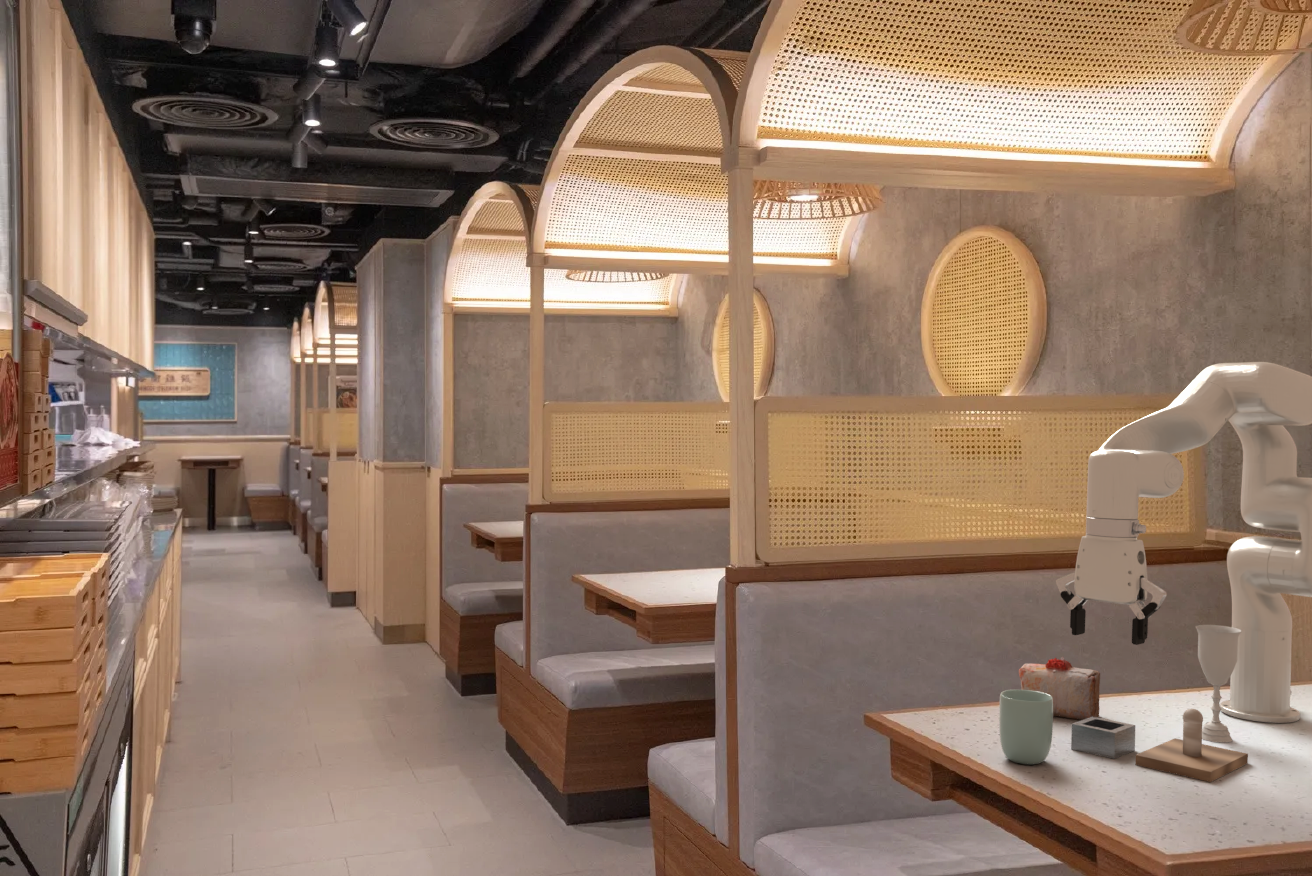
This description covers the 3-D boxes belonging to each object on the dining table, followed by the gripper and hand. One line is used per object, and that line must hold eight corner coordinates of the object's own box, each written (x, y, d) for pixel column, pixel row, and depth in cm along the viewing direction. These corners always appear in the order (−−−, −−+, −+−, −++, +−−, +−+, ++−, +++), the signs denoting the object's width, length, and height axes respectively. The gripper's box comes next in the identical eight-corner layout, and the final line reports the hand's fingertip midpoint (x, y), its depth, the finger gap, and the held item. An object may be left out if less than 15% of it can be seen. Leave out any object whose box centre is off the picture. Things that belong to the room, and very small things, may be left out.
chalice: (1244, 745, 187) (1247, 633, 187) (1199, 742, 189) (1201, 631, 188) (1231, 733, 194) (1234, 626, 194) (1187, 730, 196) (1190, 623, 195)
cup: (996, 764, 175) (997, 698, 175) (1000, 751, 182) (1002, 687, 182) (1050, 771, 172) (1052, 703, 172) (1053, 757, 179) (1054, 692, 179)
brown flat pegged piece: (1174, 747, 185) (1176, 695, 185) (1247, 763, 177) (1249, 708, 177) (1135, 764, 176) (1136, 709, 176) (1210, 782, 168) (1211, 724, 168)
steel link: (1092, 741, 189) (1092, 716, 189) (1134, 750, 184) (1135, 725, 183) (1071, 749, 184) (1071, 723, 184) (1114, 759, 179) (1114, 733, 179)
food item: (1012, 713, 207) (1014, 657, 206) (1025, 703, 213) (1026, 650, 213) (1093, 724, 199) (1094, 667, 199) (1103, 715, 206) (1104, 659, 206)
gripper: (1177, 533, 179) (1173, 645, 179) (1070, 524, 191) (1066, 628, 191) (1156, 535, 173) (1152, 650, 174) (1047, 526, 186) (1044, 633, 186)
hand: (1107, 639), depth 182 cm, fingers open, 9 cm apart
